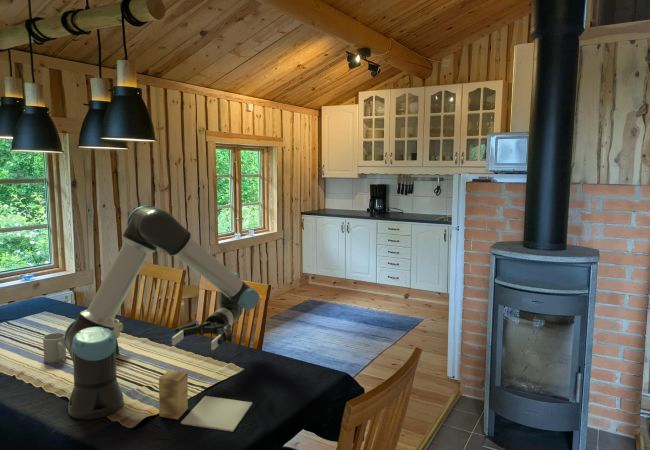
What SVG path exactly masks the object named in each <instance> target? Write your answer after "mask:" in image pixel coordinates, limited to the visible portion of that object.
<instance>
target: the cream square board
mask: <svg viewBox="0 0 650 450" xmlns="http://www.w3.org/2000/svg"><path fill="white" fill-rule="evenodd" d="M252 405H253V402H252V401H243V400H236V399H230V398H223V397H217V396H216V397H215V396H209V395H204V397H202V398H201V400H200V401H198V403H197V404H196V405H195V406H194V407H193V408H192V409H191V411H190V412H188V414H187V415H186V416H185V417H184V418H183V419H182V420H181V421H180V424H181V425H186V426H193V427H199V428H206V429H213V430H220V431H226V432H231V433H233V432H234V431H235V430H236V428H237V427H238V426H239V424H240V422H241V421H242V419H243V418H244V417H245V416H246V414H247V412H248V411H249V409H250V408H251V407H252Z"/></svg>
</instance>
